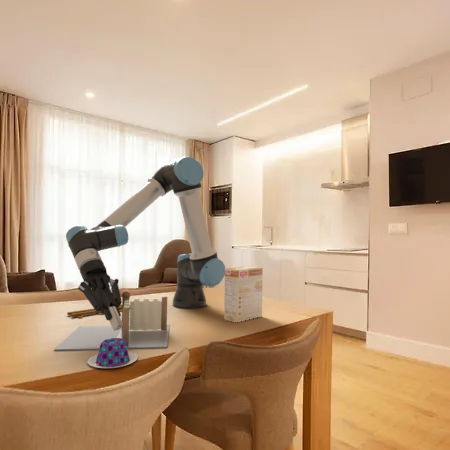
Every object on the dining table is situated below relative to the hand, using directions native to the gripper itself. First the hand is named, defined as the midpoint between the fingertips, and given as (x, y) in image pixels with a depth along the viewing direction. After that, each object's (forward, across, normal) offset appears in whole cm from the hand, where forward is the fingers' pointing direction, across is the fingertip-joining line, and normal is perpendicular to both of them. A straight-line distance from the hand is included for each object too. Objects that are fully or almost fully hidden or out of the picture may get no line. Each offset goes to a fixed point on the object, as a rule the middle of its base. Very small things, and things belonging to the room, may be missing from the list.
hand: (118, 327), depth 99 cm
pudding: (+11, -8, -4) cm, 15 cm away
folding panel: (+2, +3, +3) cm, 5 cm away
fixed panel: (+1, +13, +5) cm, 14 cm away
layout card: (0, +4, +7) cm, 8 cm away
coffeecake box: (+9, +50, -3) cm, 50 cm away
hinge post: (-2, +8, +9) cm, 12 cm away
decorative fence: (-24, +18, +32) cm, 44 cm away
